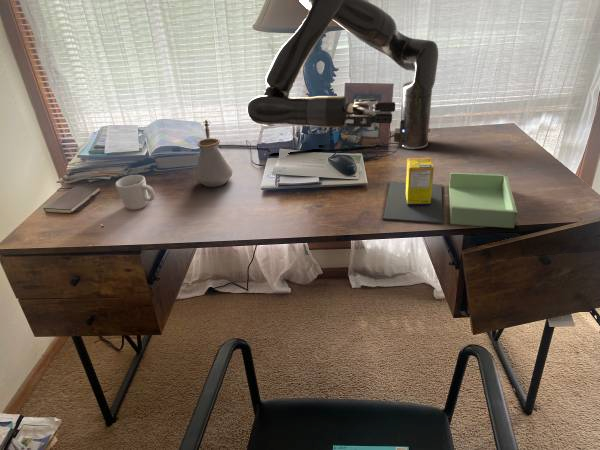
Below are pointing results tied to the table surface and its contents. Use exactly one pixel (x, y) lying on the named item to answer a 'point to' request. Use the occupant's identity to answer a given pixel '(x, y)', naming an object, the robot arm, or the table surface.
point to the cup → (134, 191)
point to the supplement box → (419, 182)
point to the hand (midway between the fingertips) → (393, 112)
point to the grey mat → (402, 212)
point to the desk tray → (481, 200)
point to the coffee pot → (212, 162)
